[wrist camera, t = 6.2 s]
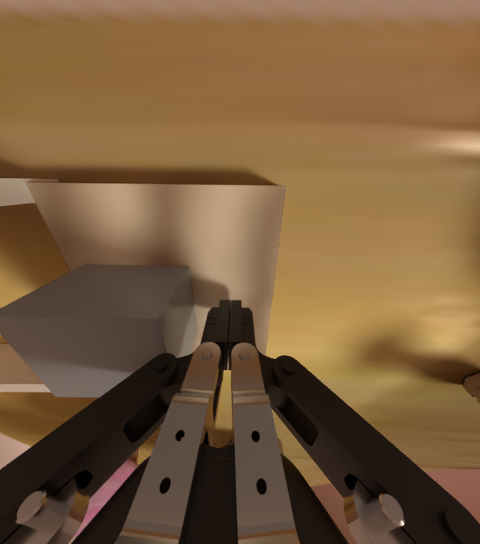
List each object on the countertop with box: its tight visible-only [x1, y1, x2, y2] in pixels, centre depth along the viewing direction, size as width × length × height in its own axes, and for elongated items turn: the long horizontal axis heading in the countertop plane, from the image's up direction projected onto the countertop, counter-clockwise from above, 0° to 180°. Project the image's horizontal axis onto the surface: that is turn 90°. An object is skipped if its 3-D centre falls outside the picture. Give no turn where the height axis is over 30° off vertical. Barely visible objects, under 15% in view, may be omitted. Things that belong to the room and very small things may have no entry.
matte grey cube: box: [0, 264, 198, 397], centre depth 11 cm, size 7×6×5 cm
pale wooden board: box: [26, 183, 286, 369], centre depth 14 cm, size 14×16×2 cm
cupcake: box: [74, 448, 139, 537], centre depth 20 cm, size 9×9×10 cm
